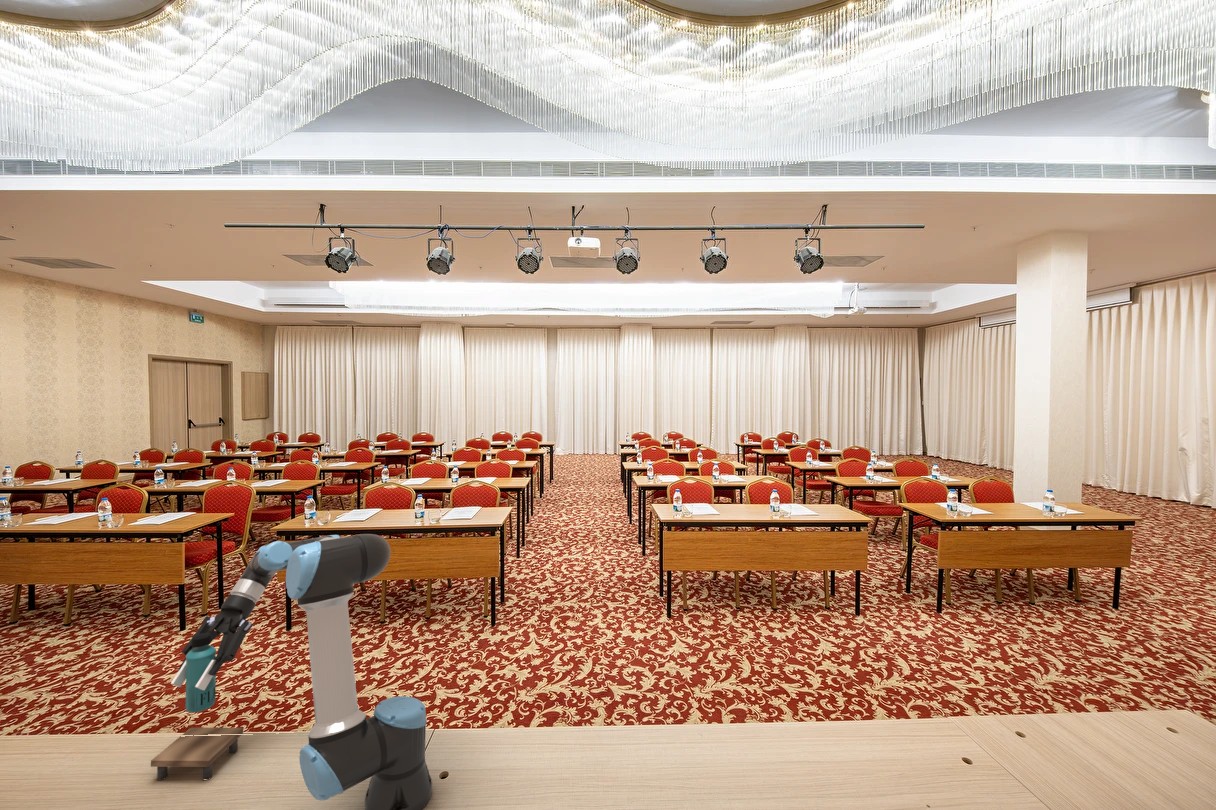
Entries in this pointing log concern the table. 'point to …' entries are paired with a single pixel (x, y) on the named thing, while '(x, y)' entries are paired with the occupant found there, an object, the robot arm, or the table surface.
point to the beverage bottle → (199, 674)
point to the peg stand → (197, 750)
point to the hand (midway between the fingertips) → (187, 686)
